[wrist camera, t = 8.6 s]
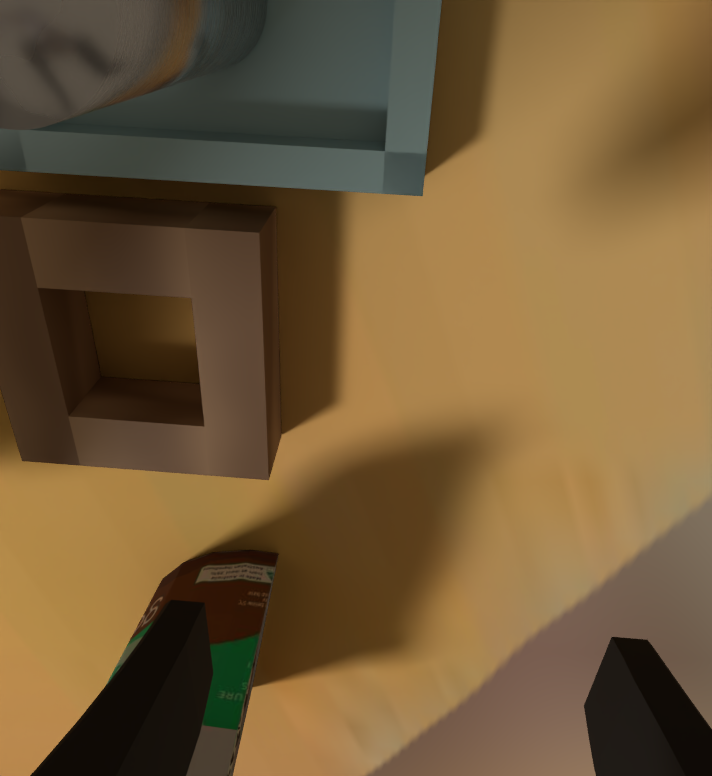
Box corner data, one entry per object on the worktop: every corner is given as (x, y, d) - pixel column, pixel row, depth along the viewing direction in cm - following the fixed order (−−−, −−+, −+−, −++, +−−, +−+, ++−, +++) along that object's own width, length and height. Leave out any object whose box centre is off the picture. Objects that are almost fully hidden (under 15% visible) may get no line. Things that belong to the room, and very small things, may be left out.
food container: (126, 495, 24) (-29, 767, 15) (284, 526, 24) (218, 810, 16) (123, 682, 30) (14, 947, 22) (248, 705, 31) (188, 975, 22)
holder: (57, 418, 22) (22, 460, 20) (-1, 189, 18) (-53, 212, 16) (281, 435, 22) (268, 480, 20) (276, 206, 18) (259, 233, 16)
